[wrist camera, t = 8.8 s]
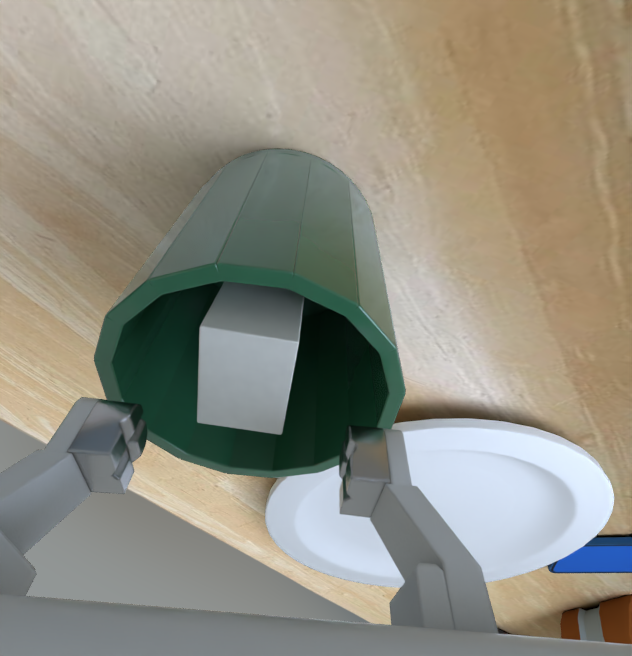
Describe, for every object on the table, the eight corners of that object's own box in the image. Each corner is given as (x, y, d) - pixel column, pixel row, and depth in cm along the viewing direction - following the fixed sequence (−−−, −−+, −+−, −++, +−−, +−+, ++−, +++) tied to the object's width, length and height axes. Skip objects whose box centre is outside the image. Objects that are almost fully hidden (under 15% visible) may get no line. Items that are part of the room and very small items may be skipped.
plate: (587, 348, 23) (609, 377, 21) (604, 541, 39) (617, 567, 37) (204, 455, 32) (196, 482, 30) (343, 577, 47) (344, 600, 45)
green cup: (185, 134, 16) (53, 243, 9) (394, 162, 17) (446, 291, 9) (199, 305, 22) (127, 464, 14) (356, 324, 23) (368, 488, 15)
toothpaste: (256, 213, 18) (190, 325, 9) (316, 224, 18) (307, 343, 9) (250, 277, 19) (188, 422, 11) (305, 286, 20) (288, 436, 11)
